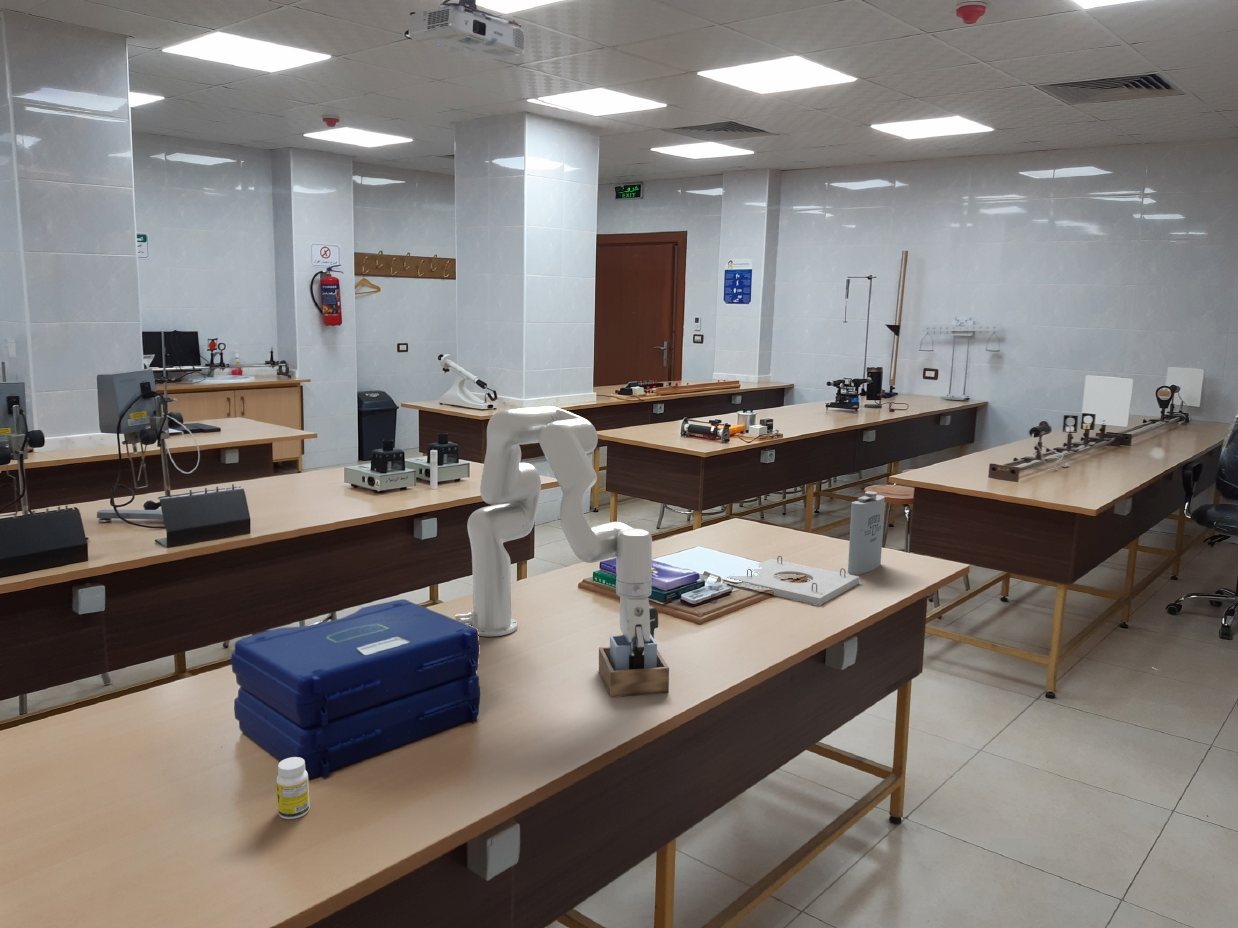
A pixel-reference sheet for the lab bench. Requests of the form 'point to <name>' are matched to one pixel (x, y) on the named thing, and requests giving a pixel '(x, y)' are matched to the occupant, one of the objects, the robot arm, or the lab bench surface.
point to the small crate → (622, 652)
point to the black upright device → (653, 619)
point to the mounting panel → (813, 591)
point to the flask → (866, 533)
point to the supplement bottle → (292, 788)
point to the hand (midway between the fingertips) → (632, 665)
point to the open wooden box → (633, 677)
